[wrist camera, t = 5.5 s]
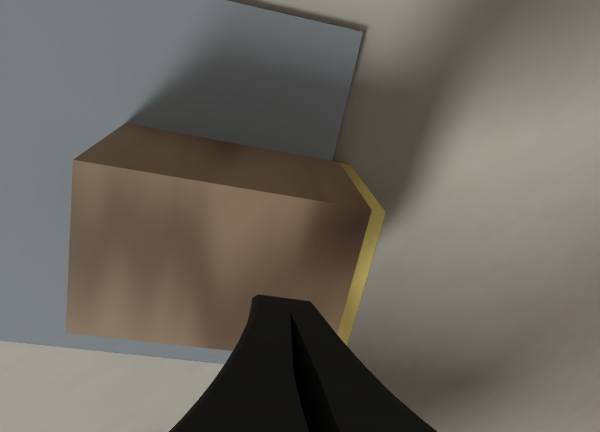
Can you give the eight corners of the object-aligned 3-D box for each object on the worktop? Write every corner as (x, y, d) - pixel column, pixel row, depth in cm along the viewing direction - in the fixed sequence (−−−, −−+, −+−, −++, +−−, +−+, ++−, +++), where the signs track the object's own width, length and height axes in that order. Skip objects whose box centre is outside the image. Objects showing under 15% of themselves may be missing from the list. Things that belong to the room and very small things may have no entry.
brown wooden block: (342, 363, 14) (65, 332, 13) (319, 282, 19) (115, 253, 18) (385, 212, 13) (72, 159, 11) (349, 164, 17) (125, 123, 16)
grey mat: (282, 365, 21) (282, 370, 20) (-68, 328, 18) (-73, 332, 18) (361, 32, 16) (363, 31, 16) (-98, -75, 14) (-105, -77, 13)
